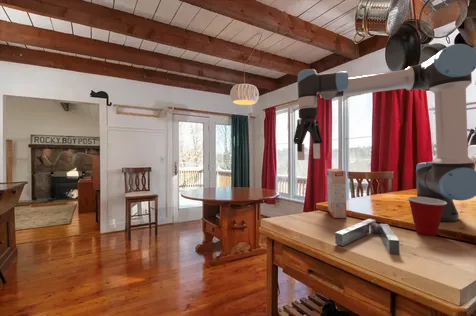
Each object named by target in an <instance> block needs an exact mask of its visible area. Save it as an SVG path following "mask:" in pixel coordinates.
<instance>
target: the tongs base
mask: <svg viewBox="0 0 476 316" xmlns="http://www.w3.org/2000/svg"><path fill="white" fill-rule="evenodd" d="M370 233H371V234H373V235H379V236H380V237H381V240H382V241H383V243H384V246H385V248H386V251H387V252H388V254H389V253H390V254H389V255H396V254H397V255H398V256H399V255H400V240H399V238H398V237H397V235H396V234H395V233H394V231H393V230H392V228H391V226H390V225H389V224H388V223H380V224H377V223H374V224H372V225H370Z"/></svg>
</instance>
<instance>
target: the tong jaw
mask: <svg viewBox="0 0 476 316" xmlns="http://www.w3.org/2000/svg"><path fill="white" fill-rule="evenodd" d="M372 224H377V220H376V219H372V218H367V219H365V220H362V221H360V222H358V223H355V224H353V225H350V226H348V227H346V228H343V229H341V230H338V231H336V232H334V240H335V241H334V242H335V243H334V244H335V245H337V244H338V246H340V245H341V247H344V246H346V245H349V244H350V243H353V242H354V241H356V240H358V239H360V238H363V237H365V236H366V235H369V234H370V226H371V225H372Z"/></svg>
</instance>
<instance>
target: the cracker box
mask: <svg viewBox="0 0 476 316" xmlns="http://www.w3.org/2000/svg"><path fill="white" fill-rule="evenodd" d="M346 173H347V172H346V171H345V170H343V169H340V168H327V169H326V177H327V178H326V179H327V180H326V181H327V182H326V183H327V185H326V186H327V211H328V213H329V214H330V215H331V216H332V218H333V219H347V186H346V185H347V183H346V179H347V178H346V177H347V175H346Z"/></svg>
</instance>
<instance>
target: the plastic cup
mask: <svg viewBox="0 0 476 316" xmlns="http://www.w3.org/2000/svg"><path fill="white" fill-rule="evenodd" d="M407 200H408V203H409V206H410V207H409V208H410V211H411V214H412V219H413V224H414V228H415V231H416V233H417V234H419V235H423V236H429V237H433V236H438V232H439V227H440V224H441V222H440V220H441V215H442V211H443V208H444V206H445V205H446V204H447V202H445V201H442V200H439V199H433V198H427V197H417V196H408V197H407Z"/></svg>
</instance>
